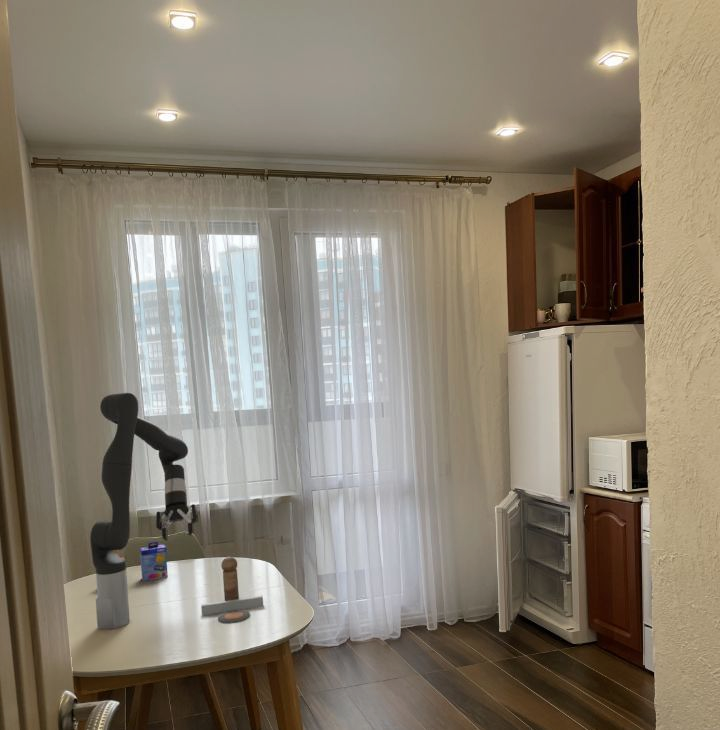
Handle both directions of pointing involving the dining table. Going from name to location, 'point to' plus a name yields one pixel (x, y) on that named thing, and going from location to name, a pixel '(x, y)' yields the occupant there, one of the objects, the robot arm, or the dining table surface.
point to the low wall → (232, 605)
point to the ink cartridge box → (153, 561)
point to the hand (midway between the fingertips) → (178, 537)
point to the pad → (233, 616)
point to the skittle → (230, 578)
